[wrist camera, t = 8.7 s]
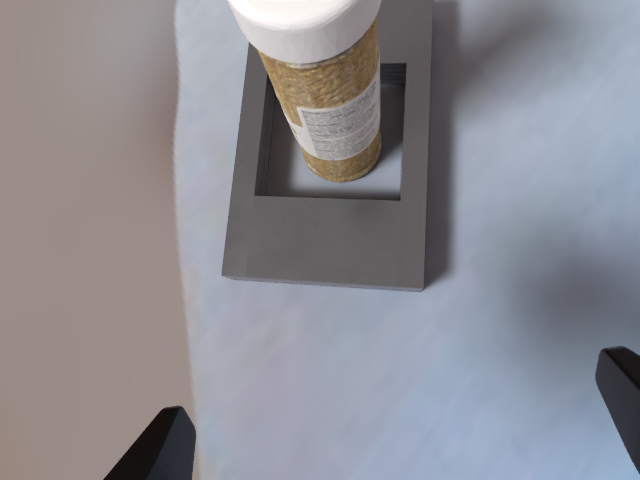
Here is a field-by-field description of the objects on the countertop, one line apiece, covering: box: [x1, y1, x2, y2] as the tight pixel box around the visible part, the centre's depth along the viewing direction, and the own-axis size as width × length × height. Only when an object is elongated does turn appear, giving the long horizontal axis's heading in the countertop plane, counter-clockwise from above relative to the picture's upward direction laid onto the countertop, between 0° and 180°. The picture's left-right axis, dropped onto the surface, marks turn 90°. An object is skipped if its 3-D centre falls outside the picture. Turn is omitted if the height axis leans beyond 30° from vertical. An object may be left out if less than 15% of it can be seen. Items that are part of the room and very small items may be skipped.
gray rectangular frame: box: [221, 0, 433, 292], centre depth 24 cm, size 16×10×2 cm, turn 176°
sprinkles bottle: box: [228, 0, 382, 183], centre depth 18 cm, size 5×5×13 cm
